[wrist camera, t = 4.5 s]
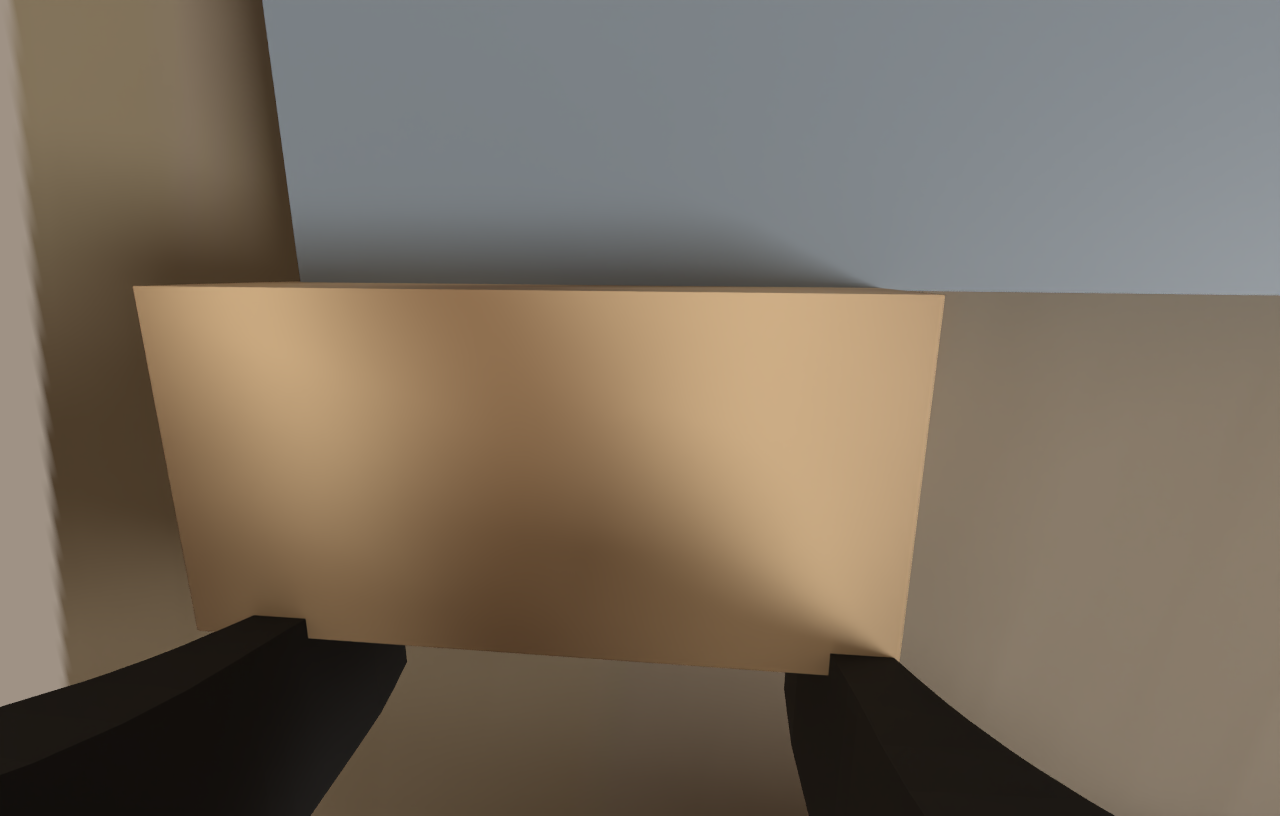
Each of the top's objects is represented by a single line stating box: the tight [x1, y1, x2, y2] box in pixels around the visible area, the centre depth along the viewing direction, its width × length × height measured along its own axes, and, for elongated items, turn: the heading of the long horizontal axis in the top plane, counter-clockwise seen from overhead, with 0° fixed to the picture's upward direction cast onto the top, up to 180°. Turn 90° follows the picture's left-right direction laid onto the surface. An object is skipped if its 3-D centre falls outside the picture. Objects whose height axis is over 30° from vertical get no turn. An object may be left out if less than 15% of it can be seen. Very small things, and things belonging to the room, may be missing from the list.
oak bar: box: [133, 281, 945, 675], centre depth 10 cm, size 10×5×4 cm, turn 90°
